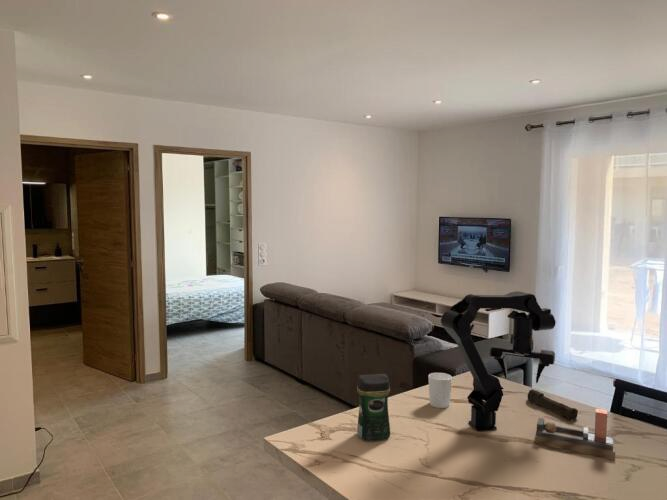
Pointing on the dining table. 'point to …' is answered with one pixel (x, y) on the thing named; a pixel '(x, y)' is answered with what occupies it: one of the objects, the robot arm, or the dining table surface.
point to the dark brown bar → (552, 405)
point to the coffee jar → (373, 407)
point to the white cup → (440, 389)
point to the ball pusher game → (572, 441)
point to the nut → (550, 427)
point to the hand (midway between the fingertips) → (521, 380)
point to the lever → (599, 428)
